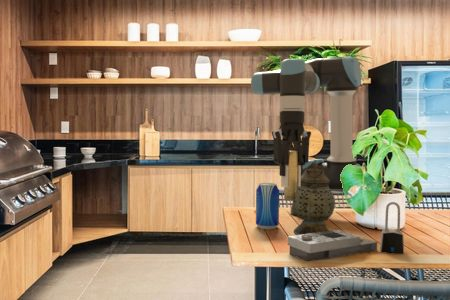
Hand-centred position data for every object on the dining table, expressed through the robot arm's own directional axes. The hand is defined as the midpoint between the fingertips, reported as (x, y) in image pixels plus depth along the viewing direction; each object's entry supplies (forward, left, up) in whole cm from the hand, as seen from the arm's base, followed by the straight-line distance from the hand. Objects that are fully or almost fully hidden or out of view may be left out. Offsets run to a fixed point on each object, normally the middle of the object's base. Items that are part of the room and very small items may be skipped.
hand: (290, 186), depth 141 cm
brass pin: (0, 0, -4) cm, 4 cm away
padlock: (-23, +19, -19) cm, 36 cm away
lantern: (-17, -10, -19) cm, 28 cm away
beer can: (-8, -25, -19) cm, 32 cm away
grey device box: (-7, +11, -19) cm, 23 cm away
